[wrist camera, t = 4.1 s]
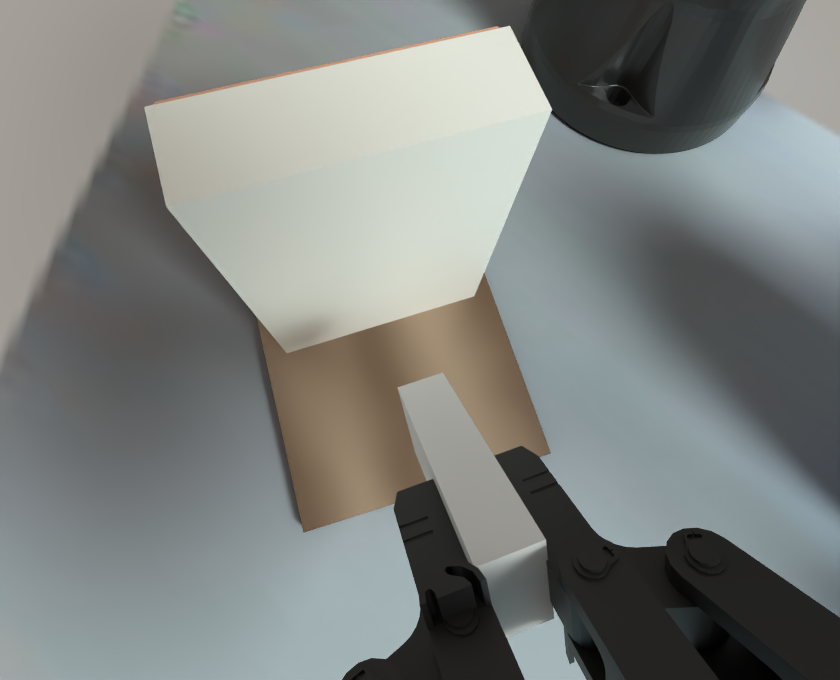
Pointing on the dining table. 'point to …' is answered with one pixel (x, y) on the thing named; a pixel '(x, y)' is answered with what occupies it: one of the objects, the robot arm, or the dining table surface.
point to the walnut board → (391, 403)
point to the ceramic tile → (354, 180)
